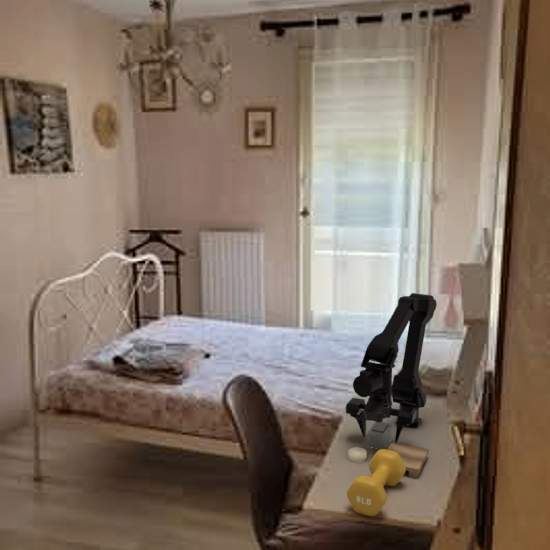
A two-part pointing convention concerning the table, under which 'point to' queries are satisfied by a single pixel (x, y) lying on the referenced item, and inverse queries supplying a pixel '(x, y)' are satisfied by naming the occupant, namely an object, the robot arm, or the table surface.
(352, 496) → the dumbbell
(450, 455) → the table surface
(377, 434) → the housing
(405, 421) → the robot arm
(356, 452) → the cream rounded piece
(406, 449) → the tan flat board
